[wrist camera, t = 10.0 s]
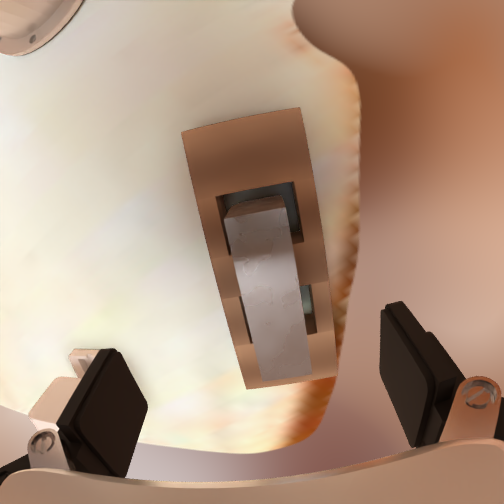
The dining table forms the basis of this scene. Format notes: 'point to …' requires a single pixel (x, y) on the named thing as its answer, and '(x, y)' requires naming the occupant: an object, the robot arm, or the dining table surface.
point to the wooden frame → (304, 241)
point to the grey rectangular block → (269, 286)
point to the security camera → (60, 392)
